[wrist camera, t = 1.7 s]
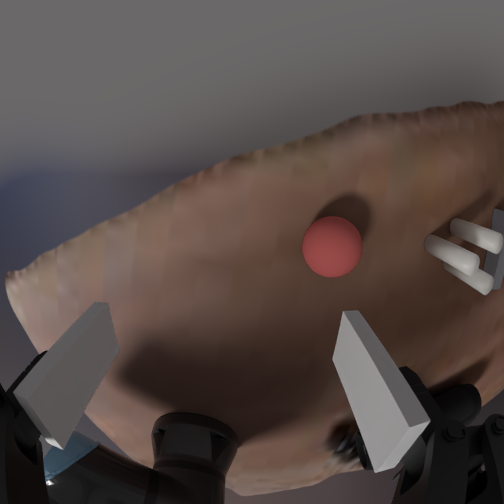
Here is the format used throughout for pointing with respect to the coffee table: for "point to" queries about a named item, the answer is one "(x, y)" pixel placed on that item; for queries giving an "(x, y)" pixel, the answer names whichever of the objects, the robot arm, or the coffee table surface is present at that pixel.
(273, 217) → the coffee table surface
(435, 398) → the portable speaker
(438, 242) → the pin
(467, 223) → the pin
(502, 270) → the back wall
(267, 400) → the coffee table surface
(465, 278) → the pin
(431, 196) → the coffee table surface
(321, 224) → the ball
